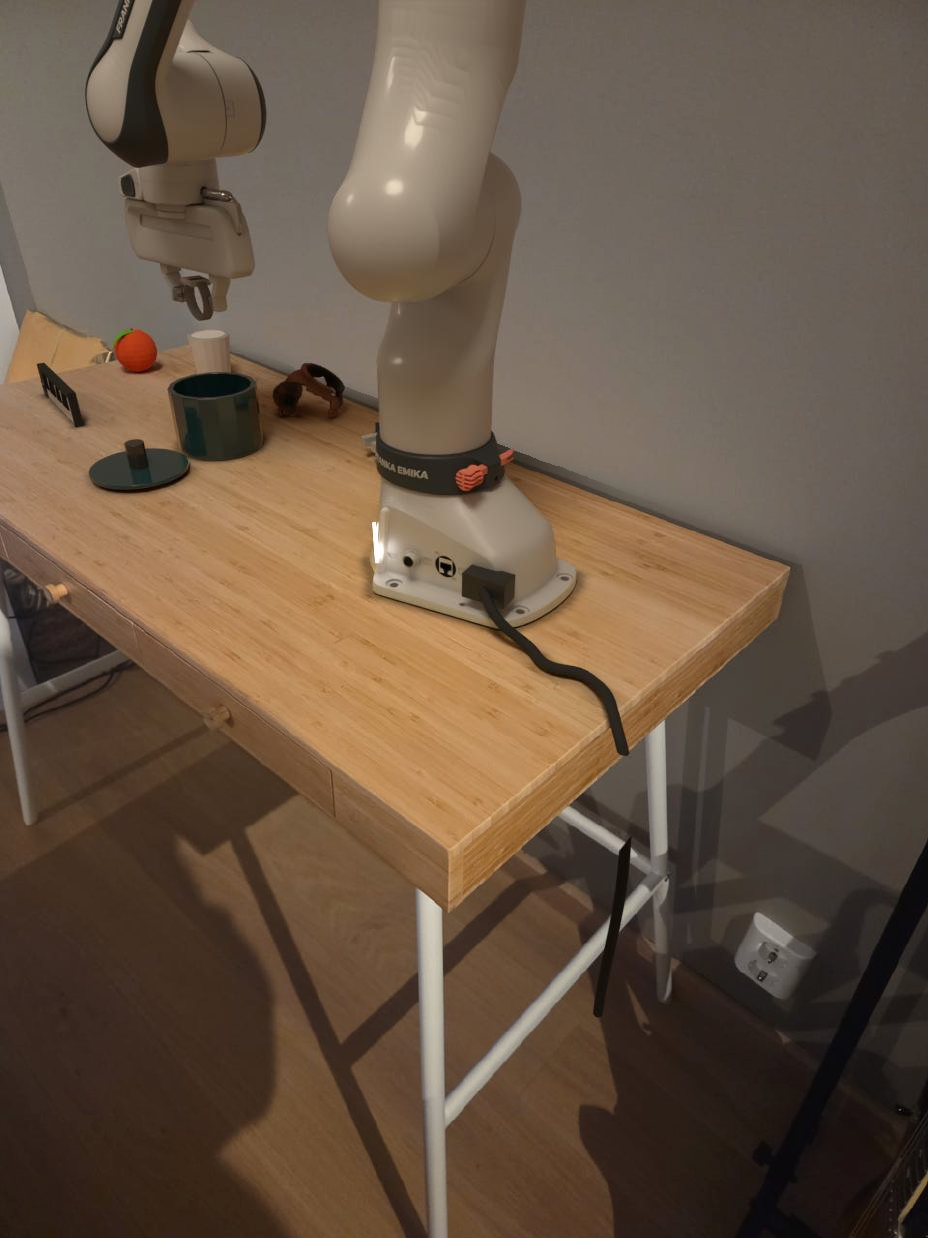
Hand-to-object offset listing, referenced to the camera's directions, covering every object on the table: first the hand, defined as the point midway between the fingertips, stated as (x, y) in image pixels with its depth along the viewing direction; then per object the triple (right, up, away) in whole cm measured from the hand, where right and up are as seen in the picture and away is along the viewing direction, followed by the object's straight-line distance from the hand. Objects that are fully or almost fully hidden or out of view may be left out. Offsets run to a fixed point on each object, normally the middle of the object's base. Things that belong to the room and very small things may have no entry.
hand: (199, 305), depth 106 cm
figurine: (+27, -16, +10) cm, 33 cm away
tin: (0, -16, +11) cm, 19 cm away
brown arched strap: (+10, -9, +21) cm, 25 cm away
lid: (-8, -21, +2) cm, 22 cm away
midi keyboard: (-28, -8, +22) cm, 36 cm away
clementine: (-23, +3, +38) cm, 44 cm away
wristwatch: (0, -2, +1) cm, 2 cm away
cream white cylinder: (-9, +2, +36) cm, 37 cm away
